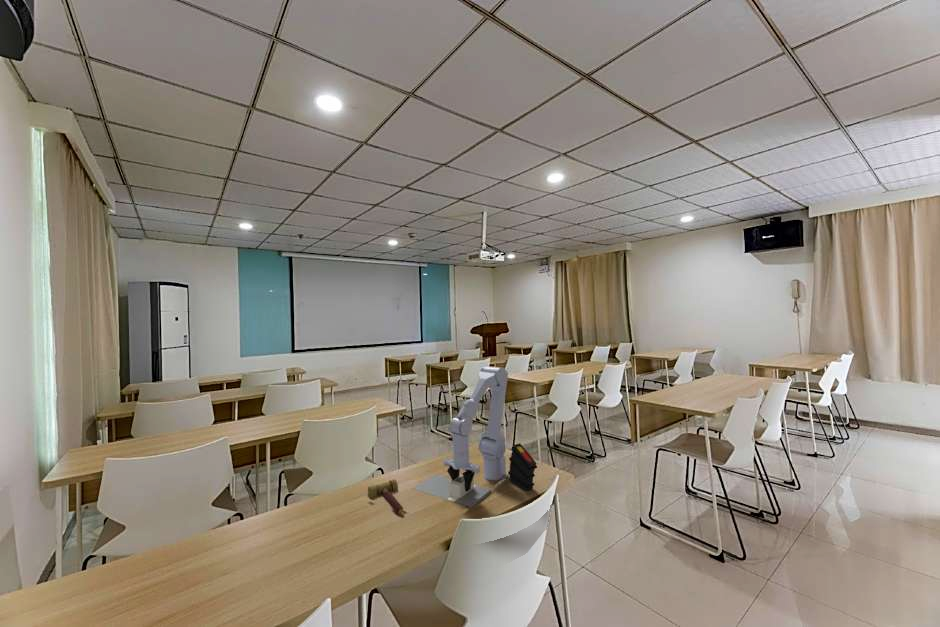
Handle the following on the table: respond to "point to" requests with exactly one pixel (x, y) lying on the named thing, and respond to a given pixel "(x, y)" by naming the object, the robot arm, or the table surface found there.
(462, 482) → the block
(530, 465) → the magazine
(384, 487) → the gavel
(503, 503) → the table surface
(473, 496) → the board
